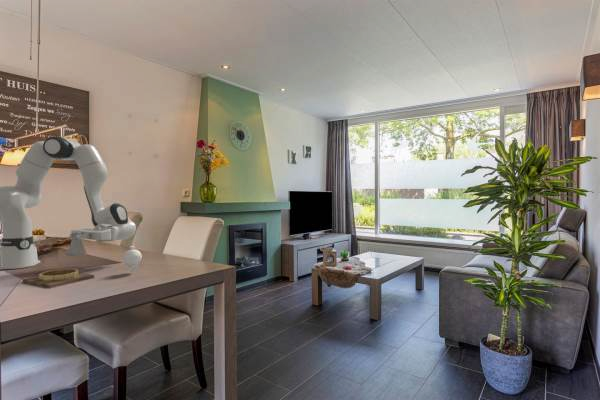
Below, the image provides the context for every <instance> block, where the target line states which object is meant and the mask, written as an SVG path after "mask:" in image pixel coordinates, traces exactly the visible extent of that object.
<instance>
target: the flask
mask: <svg viewBox="0 0 600 400" xmlns="http://www.w3.org/2000/svg"><path fill="white" fill-rule="evenodd" d="M71 233H72V238H71V240H70V245H69V247H68V249H67V252H66V254H65V255H66V256H71V257H72V256H81V255H82V256H83V255H85V254H87V250H86V249H85V246H84V244H83V242H82V240H81V239H76V238H75V237H76V236H75V235H76V234H80V233H81V232H71ZM71 233H70V234H71Z"/></svg>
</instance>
